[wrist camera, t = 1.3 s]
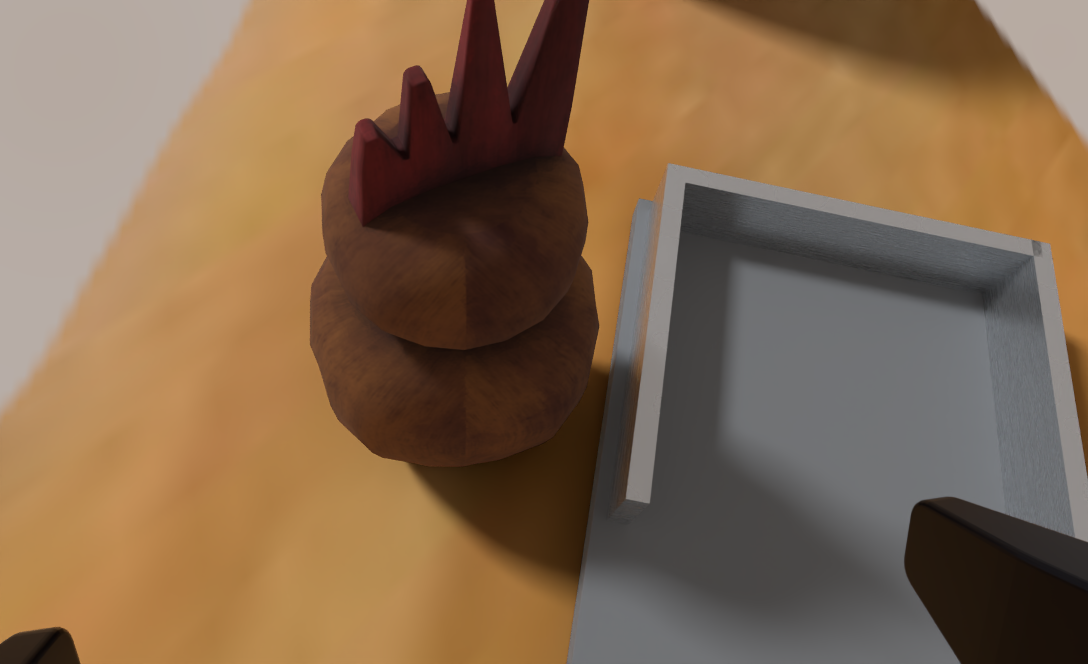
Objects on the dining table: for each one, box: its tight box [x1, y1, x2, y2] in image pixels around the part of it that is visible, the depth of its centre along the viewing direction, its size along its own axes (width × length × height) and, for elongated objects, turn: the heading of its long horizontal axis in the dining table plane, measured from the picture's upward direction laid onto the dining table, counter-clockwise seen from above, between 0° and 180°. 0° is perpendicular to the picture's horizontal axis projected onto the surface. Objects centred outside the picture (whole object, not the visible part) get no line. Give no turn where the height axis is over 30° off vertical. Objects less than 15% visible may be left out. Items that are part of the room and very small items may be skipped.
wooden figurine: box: [310, 0, 599, 467], centre depth 16 cm, size 7×6×15 cm
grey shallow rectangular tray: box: [567, 163, 1088, 664], centre depth 21 cm, size 17×13×4 cm
